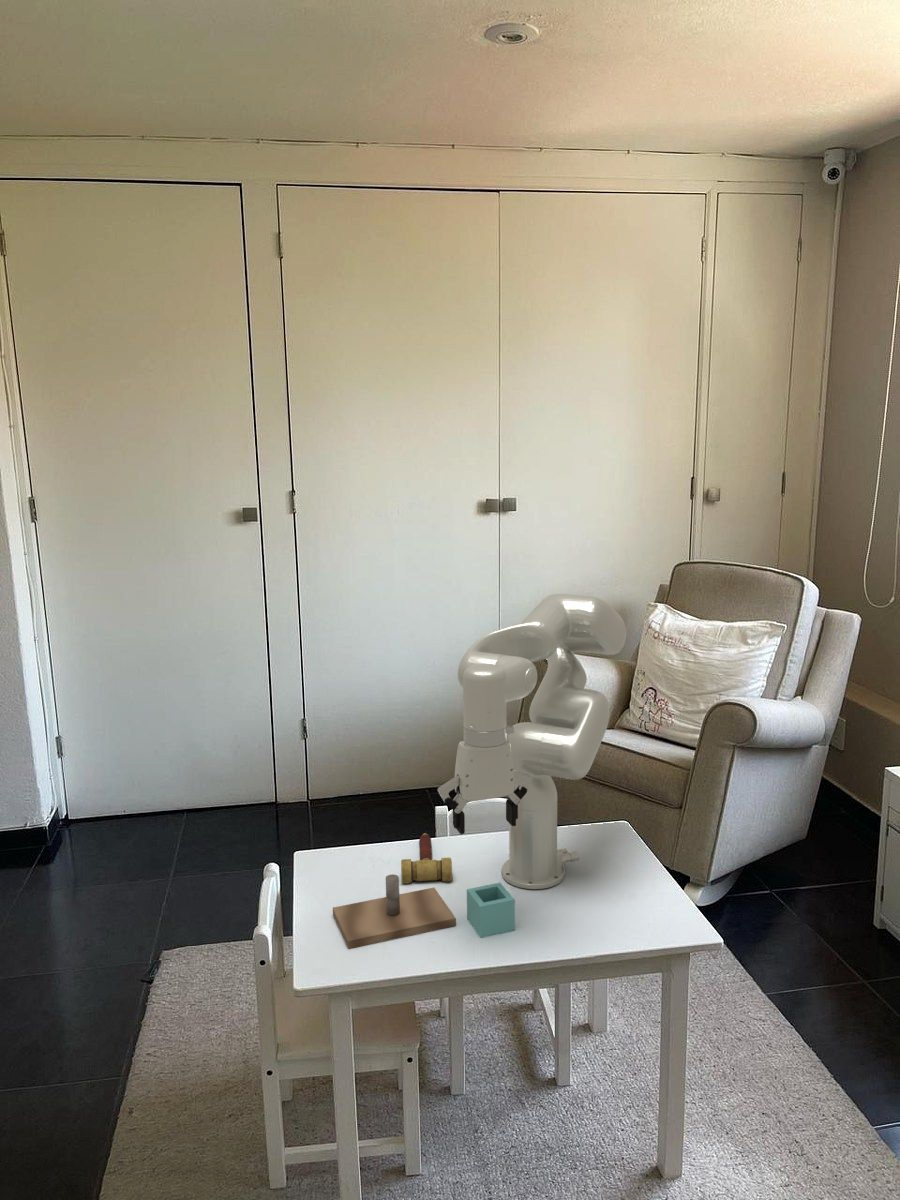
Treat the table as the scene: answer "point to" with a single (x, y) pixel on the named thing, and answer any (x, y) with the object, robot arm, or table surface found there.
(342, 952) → the table surface
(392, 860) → the table surface
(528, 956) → the table surface
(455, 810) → the robot arm
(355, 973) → the table surface
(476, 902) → the collar
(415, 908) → the post stand
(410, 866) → the gavel
